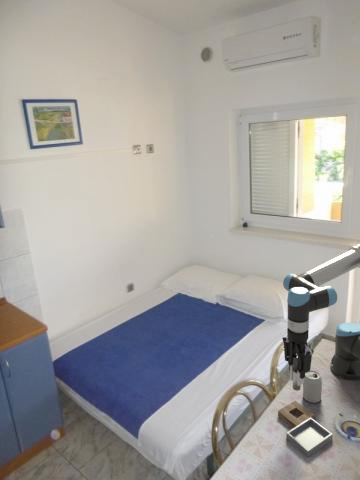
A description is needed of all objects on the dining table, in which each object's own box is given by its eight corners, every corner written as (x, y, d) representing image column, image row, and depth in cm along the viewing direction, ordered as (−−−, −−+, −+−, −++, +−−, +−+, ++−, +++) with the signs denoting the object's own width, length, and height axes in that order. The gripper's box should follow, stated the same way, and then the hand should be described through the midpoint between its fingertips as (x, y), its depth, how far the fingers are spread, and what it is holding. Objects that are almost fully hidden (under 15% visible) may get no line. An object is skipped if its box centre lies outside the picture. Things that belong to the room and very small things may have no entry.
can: (322, 404, 156) (323, 380, 152) (303, 403, 157) (304, 379, 154) (319, 392, 163) (320, 369, 159) (301, 391, 164) (302, 368, 161)
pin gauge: (296, 384, 148) (296, 353, 144) (302, 388, 145) (303, 357, 141) (290, 387, 146) (291, 356, 142) (296, 391, 144) (297, 360, 140)
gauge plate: (295, 405, 157) (295, 400, 156) (314, 419, 148) (314, 414, 148) (278, 415, 152) (278, 410, 151) (297, 431, 144) (297, 426, 143)
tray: (310, 422, 147) (310, 417, 146) (332, 439, 139) (332, 434, 138) (286, 438, 141) (286, 432, 140) (307, 456, 132) (308, 451, 132)
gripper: (274, 322, 143) (274, 374, 150) (308, 341, 129) (306, 397, 136) (288, 316, 146) (288, 367, 153) (322, 334, 133) (320, 388, 140)
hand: (296, 381), depth 145 cm, fingers closed on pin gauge, 3 cm apart
